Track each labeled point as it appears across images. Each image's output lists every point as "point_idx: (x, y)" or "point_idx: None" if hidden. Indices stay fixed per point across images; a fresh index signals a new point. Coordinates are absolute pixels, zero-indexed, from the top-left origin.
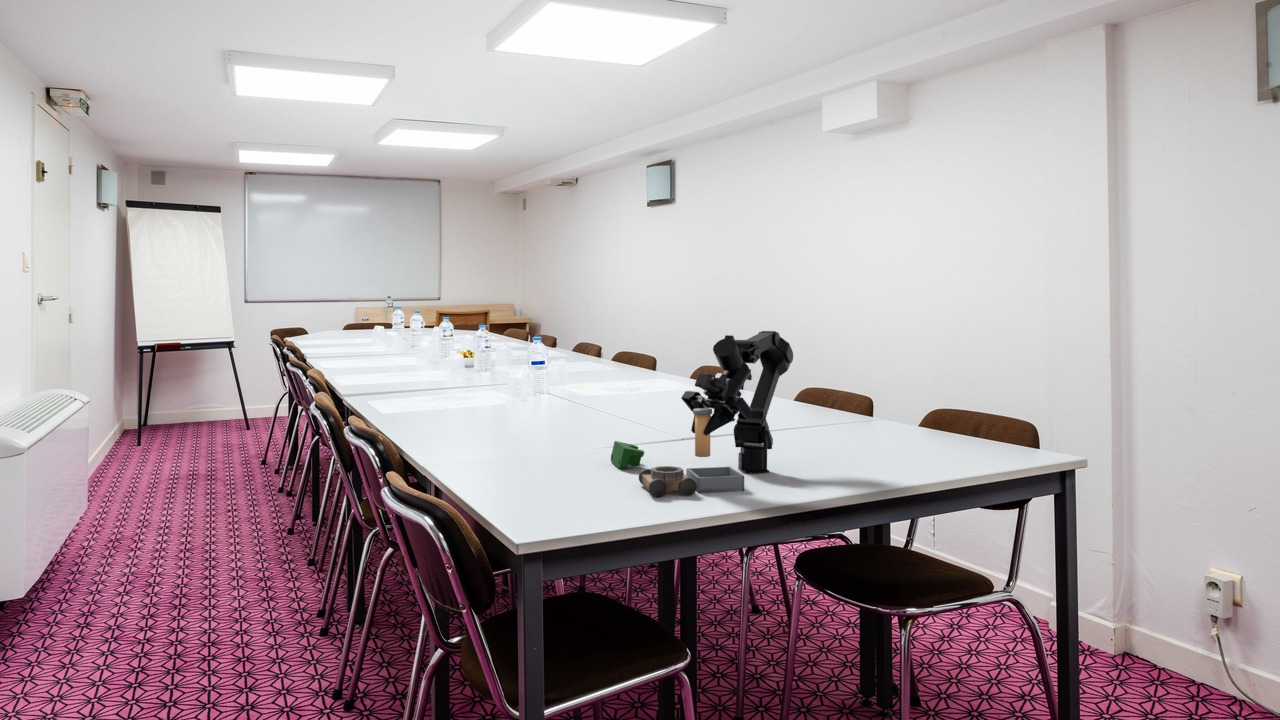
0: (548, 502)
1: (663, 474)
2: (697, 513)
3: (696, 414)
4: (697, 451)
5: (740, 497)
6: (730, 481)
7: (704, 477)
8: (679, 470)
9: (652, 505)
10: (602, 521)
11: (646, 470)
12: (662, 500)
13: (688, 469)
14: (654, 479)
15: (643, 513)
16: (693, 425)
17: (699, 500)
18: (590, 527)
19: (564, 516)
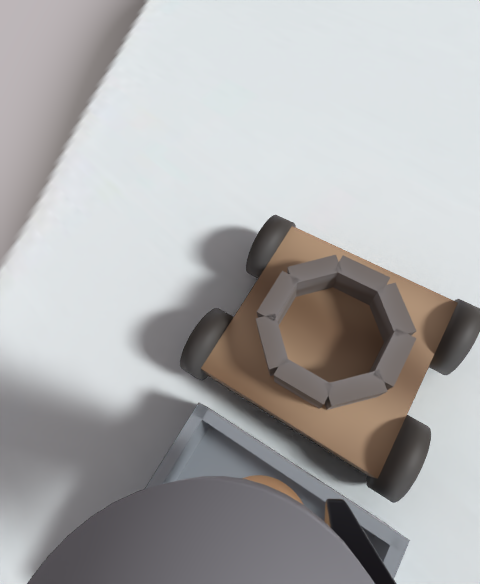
0: (417, 33)
1: (287, 269)
2: (57, 225)
3: (210, 476)
4: (256, 476)
5: (50, 482)
6: None
7: (188, 434)
8: (274, 349)
9: (206, 192)
10: (187, 44)
11: (455, 315)
12: (228, 247)
13: (378, 525)
14: (283, 228)
15: (166, 133)
16: (348, 544)
17: (140, 332)
18: (172, 13)
19: (277, 12)
